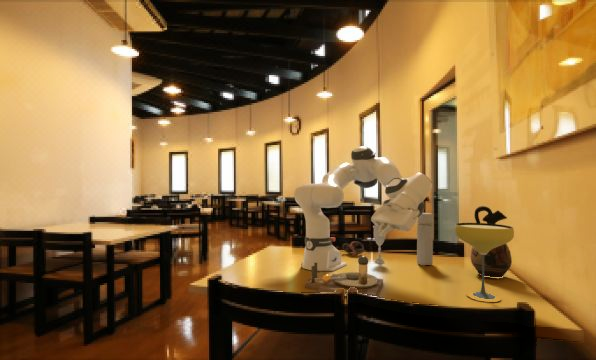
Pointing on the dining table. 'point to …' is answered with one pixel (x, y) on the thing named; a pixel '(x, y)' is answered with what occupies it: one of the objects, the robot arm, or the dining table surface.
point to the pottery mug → (353, 248)
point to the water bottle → (425, 239)
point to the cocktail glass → (484, 242)
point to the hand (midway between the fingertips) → (380, 235)
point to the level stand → (332, 286)
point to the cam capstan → (354, 277)
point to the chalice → (379, 242)
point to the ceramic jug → (497, 257)
